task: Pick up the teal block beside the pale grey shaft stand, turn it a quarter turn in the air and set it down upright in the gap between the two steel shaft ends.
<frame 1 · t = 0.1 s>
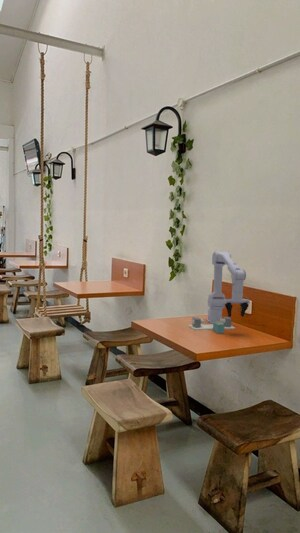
hand: (235, 316, 227), 10 cm above the table, tool pointing down, fingers open, 7 cm apart
shaft stand: (211, 327, 240), on the table
teal block: (218, 332, 231), on the table
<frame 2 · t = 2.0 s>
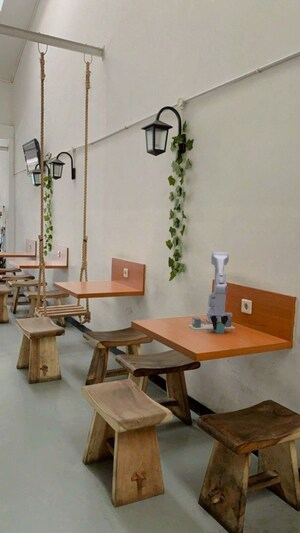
hand: (218, 329, 231), 1 cm above the table, tool pointing down, fingers closed on teal block, 4 cm apart
teal block: (218, 331, 231), on the table, touching gripper
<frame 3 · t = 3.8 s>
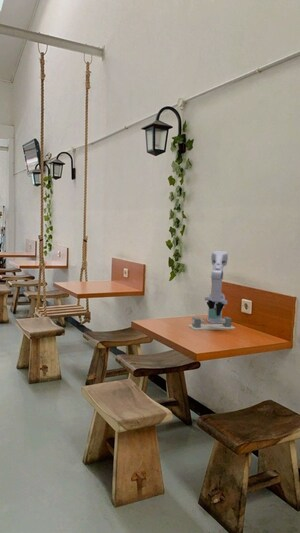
hand: (214, 314, 236), 8 cm above the table, tool pointing down, fingers closed on teal block, 4 cm apart
teal block: (214, 317, 236), point 7 cm above the table, touching gripper
when the fingers open (4 cm above the table, at t = 5.6 s): teal block drops 1 cm, resting on shaft stand.
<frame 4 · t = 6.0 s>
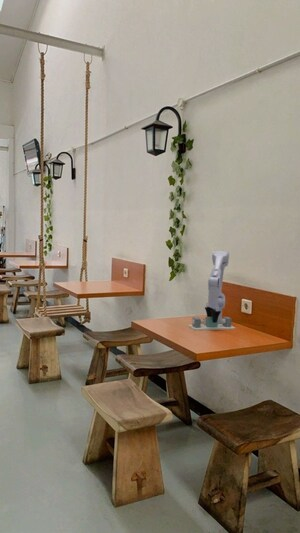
hand: (212, 321, 240), 4 cm above the table, tool pointing down, fingers open, 7 cm apart
teal block: (211, 326, 240), point 1 cm above the table, touching shaft stand
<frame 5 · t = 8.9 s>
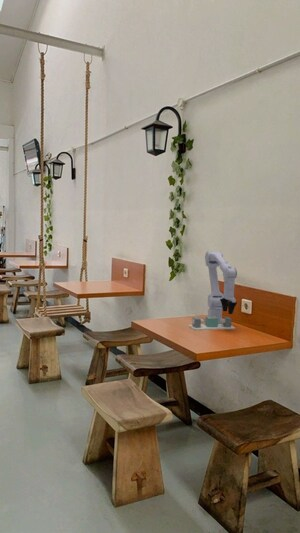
hand: (227, 312, 238), 9 cm above the table, tool pointing down, fingers open, 7 cm apart
nothing on the table moved.
at the end: teal block 0.2 cm off-centre on the shaft stand, point 0.8 cm above the shaft stand's base; teal block tilted 0°; the gripper is holding nothing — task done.
